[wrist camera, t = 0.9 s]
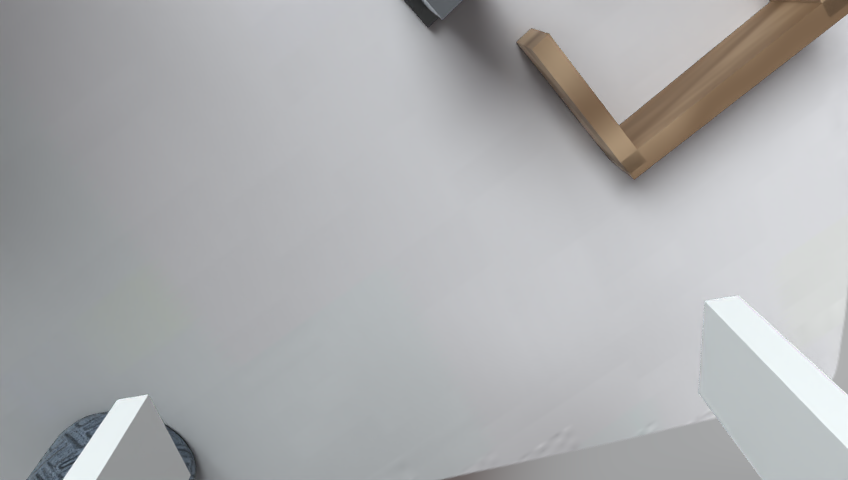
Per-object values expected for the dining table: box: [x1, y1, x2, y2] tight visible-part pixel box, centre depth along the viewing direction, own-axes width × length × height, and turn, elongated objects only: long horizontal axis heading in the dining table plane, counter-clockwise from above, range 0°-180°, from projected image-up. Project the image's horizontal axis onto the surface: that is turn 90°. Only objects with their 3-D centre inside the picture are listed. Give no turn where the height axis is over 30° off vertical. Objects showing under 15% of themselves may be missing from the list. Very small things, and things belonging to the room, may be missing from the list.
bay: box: [517, 0, 848, 179], centre depth 31 cm, size 10×14×4 cm
